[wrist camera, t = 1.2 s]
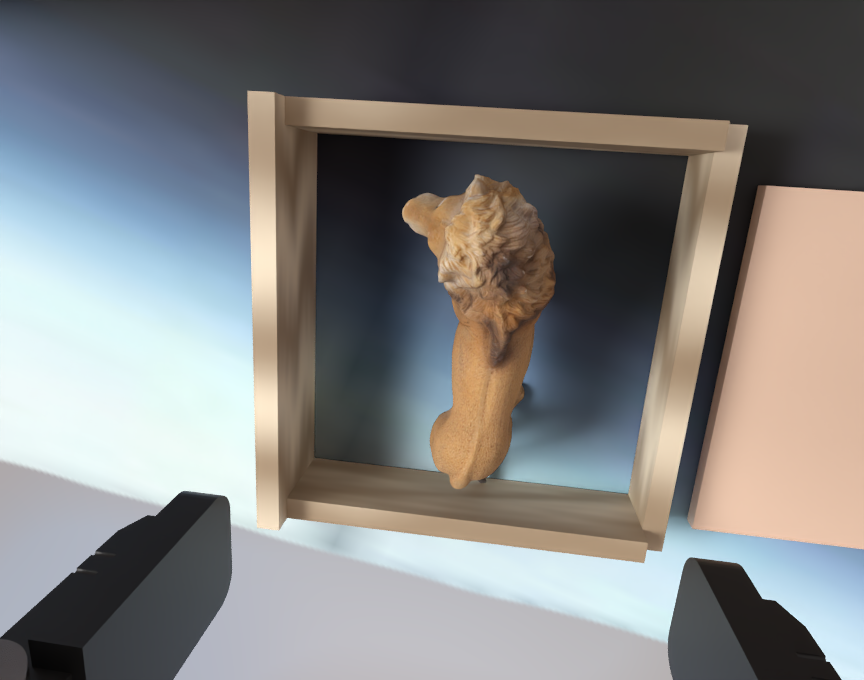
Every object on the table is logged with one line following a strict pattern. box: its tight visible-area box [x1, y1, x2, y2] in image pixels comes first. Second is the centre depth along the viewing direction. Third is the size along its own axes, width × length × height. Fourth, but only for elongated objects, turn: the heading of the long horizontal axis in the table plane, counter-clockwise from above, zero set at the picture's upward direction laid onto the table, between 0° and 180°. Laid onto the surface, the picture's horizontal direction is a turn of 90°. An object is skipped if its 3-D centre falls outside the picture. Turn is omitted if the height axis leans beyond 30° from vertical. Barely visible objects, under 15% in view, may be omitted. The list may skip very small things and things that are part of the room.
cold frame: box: [248, 91, 748, 563], centre depth 25 cm, size 18×18×5 cm
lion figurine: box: [402, 175, 556, 489], centre depth 23 cm, size 15×5×9 cm, turn 2°
